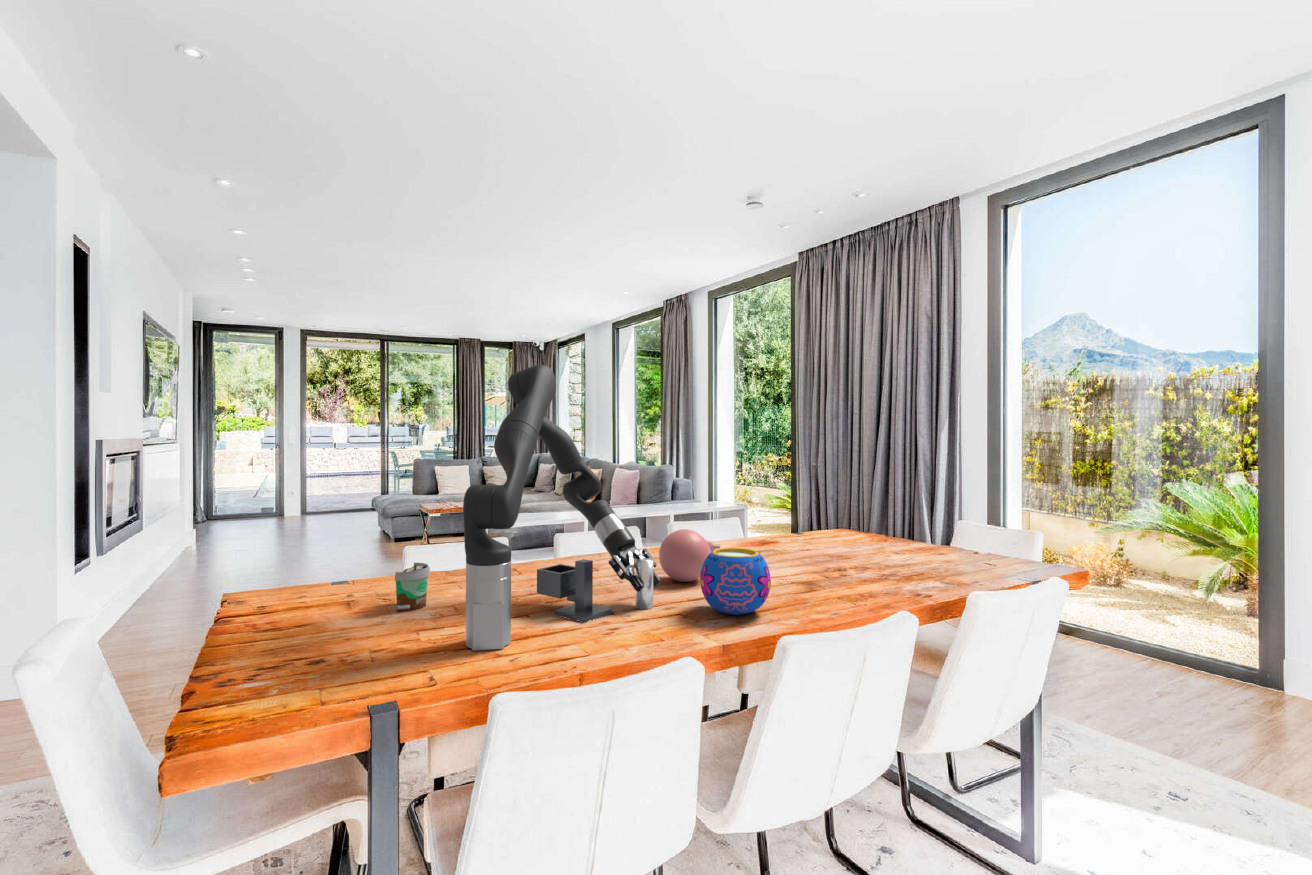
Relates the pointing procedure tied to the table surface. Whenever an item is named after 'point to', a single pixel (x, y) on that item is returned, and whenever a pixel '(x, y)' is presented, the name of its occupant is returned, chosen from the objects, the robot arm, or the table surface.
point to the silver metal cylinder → (645, 583)
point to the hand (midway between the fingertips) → (649, 586)
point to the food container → (412, 587)
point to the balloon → (684, 554)
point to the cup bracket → (572, 589)
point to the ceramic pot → (735, 580)
